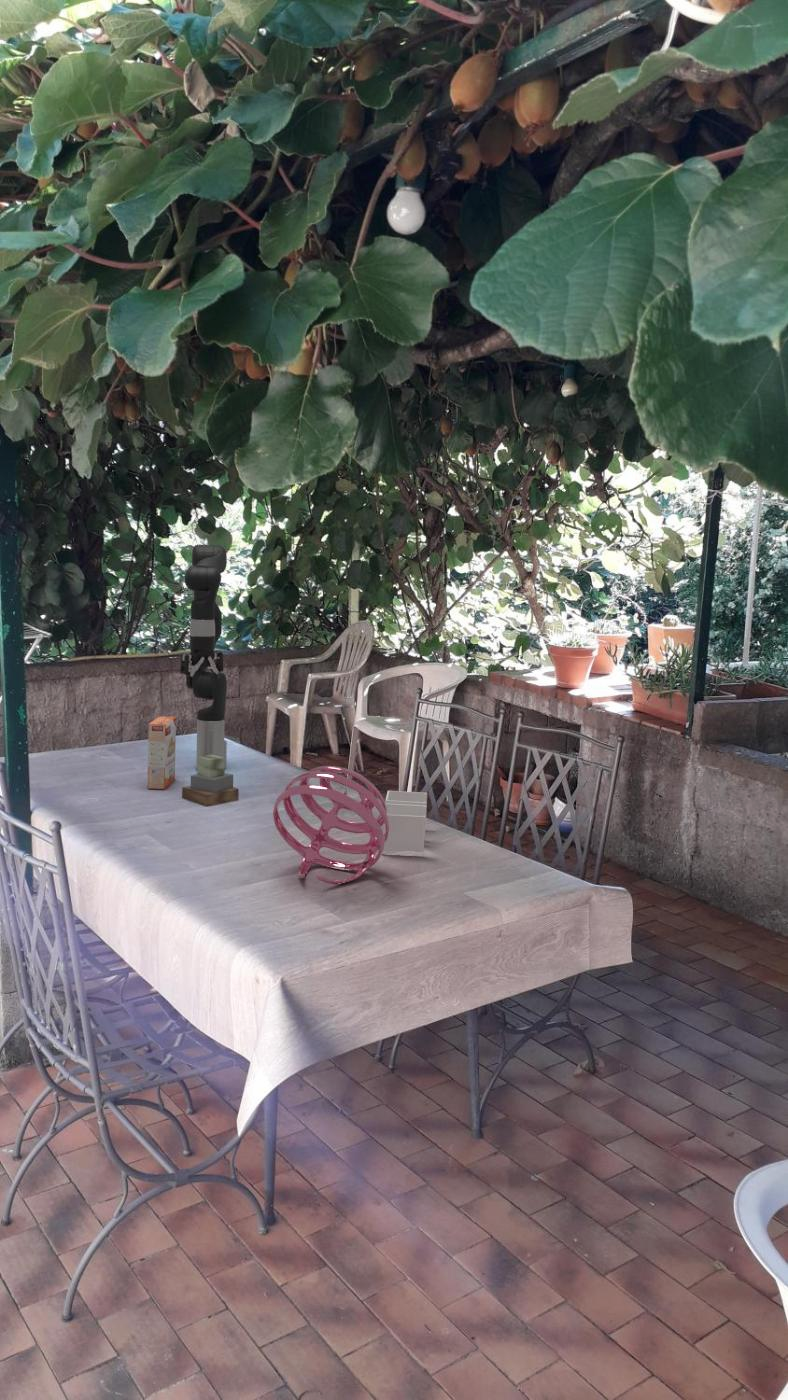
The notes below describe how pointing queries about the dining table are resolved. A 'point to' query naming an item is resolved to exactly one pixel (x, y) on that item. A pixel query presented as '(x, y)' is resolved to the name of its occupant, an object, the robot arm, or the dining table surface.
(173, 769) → the cracker box
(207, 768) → the green cube
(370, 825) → the spiral basket
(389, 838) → the storage container
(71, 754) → the dining table surface
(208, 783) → the top slab
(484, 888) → the dining table surface
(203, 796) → the bottom slab
